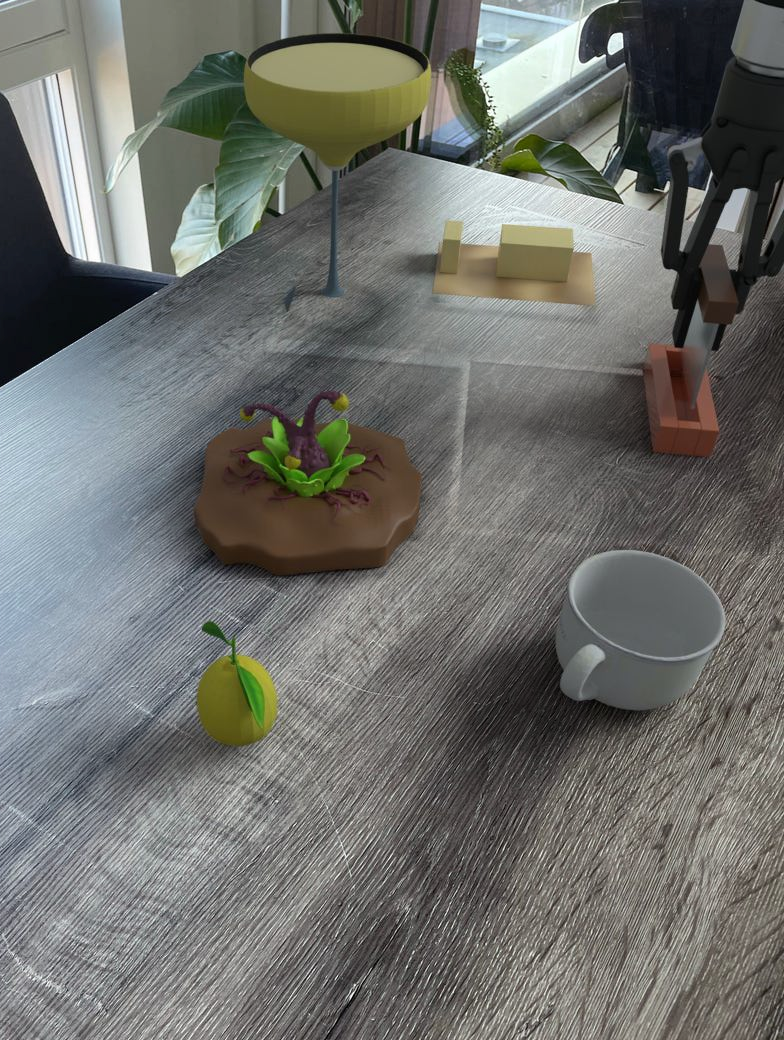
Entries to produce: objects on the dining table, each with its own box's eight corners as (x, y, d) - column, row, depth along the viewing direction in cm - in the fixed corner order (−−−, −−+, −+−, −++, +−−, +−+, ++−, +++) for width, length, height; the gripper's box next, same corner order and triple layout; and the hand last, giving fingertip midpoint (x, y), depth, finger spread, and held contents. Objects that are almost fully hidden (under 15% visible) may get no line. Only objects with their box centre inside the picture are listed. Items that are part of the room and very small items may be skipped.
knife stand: (692, 378, 106) (701, 347, 103) (708, 463, 96) (719, 431, 93) (640, 374, 106) (648, 342, 104) (651, 458, 96) (660, 425, 94)
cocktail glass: (341, 253, 126) (348, 21, 108) (446, 310, 116) (472, 65, 98) (220, 298, 118) (206, 55, 100) (321, 363, 108) (325, 107, 90)
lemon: (208, 695, 76) (198, 595, 69) (286, 705, 75) (285, 606, 68) (185, 767, 71) (172, 668, 64) (268, 779, 70) (265, 680, 63)
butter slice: (459, 254, 122) (463, 221, 119) (457, 274, 119) (461, 240, 116) (442, 253, 122) (445, 219, 119) (439, 272, 119) (443, 238, 116)
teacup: (618, 606, 82) (642, 529, 77) (727, 691, 76) (762, 613, 70) (486, 680, 77) (501, 602, 71) (592, 777, 71) (617, 700, 65)
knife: (692, 348, 101) (722, 244, 94) (705, 410, 94) (738, 302, 86) (667, 346, 102) (695, 243, 94) (678, 408, 94) (709, 300, 87)
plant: (422, 583, 84) (434, 471, 76) (183, 572, 85) (171, 461, 77) (418, 441, 98) (429, 333, 90) (214, 433, 99) (206, 326, 91)
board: (589, 264, 124) (591, 252, 122) (593, 318, 115) (595, 305, 114) (438, 253, 125) (439, 241, 124) (430, 305, 117) (432, 292, 115)
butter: (566, 262, 121) (572, 228, 118) (567, 282, 117) (573, 248, 114) (497, 257, 122) (502, 223, 119) (496, 276, 118) (501, 242, 115)
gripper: (679, 72, 77) (611, 355, 93) (898, 84, 75) (788, 370, 92) (671, 41, 82) (607, 315, 99) (875, 51, 80) (775, 328, 97)
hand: (694, 341), depth 95 cm, fingers closed on knife, 2 cm apart
